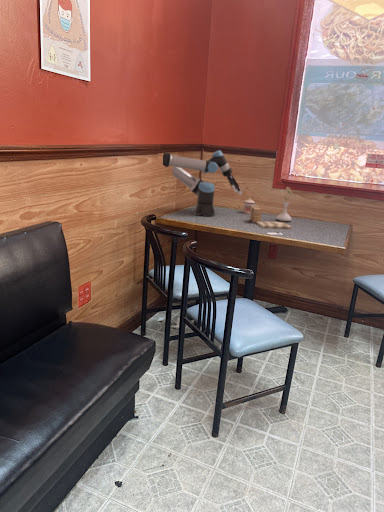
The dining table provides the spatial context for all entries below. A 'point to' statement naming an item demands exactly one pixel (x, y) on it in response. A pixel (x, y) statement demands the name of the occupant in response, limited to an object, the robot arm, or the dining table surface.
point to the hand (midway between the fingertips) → (239, 193)
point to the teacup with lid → (248, 206)
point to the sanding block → (255, 214)
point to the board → (273, 225)
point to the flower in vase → (285, 209)
